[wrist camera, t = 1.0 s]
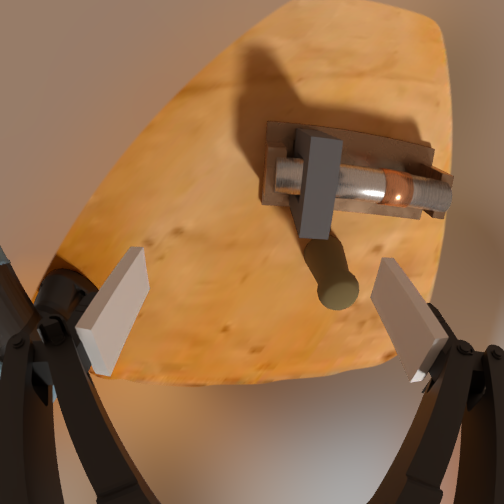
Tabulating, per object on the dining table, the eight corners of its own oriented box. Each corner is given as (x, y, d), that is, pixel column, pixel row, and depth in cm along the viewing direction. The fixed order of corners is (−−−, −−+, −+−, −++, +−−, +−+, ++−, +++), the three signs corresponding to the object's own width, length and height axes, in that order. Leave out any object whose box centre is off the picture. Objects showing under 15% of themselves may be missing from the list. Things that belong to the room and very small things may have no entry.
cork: (310, 231, 41) (325, 272, 32) (348, 239, 42) (373, 280, 32) (299, 267, 44) (310, 314, 35) (336, 273, 45) (354, 320, 35)
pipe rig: (261, 202, 40) (263, 228, 32) (267, 121, 34) (270, 125, 27) (417, 217, 40) (445, 243, 32) (431, 148, 35) (466, 161, 27)
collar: (289, 204, 38) (299, 237, 29) (296, 128, 33) (311, 136, 24) (311, 206, 38) (328, 239, 29) (320, 130, 33) (343, 140, 25)
